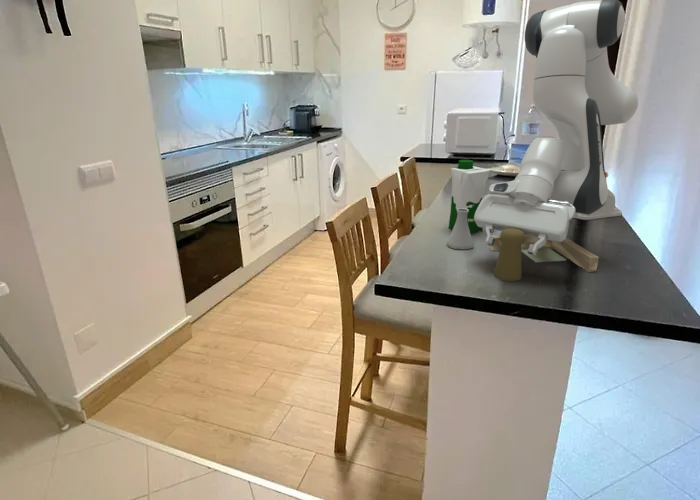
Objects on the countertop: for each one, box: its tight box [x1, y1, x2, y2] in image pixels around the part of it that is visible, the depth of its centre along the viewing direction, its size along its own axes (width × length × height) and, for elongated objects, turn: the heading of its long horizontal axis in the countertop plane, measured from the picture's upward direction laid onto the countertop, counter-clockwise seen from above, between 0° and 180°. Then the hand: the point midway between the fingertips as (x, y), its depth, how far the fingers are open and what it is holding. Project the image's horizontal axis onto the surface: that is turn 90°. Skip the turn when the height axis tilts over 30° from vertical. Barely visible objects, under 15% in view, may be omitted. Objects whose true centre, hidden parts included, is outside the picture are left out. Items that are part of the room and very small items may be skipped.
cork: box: [493, 228, 525, 282], centre depth 100 cm, size 6×6×11 cm
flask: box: [446, 208, 474, 250], centre depth 118 cm, size 7×7×10 cm
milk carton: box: [447, 159, 491, 235], centre depth 128 cm, size 9×9×20 cm
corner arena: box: [489, 234, 600, 273], centre depth 110 cm, size 18×18×4 cm
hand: (509, 248), depth 99 cm, fingers open, 8 cm apart
